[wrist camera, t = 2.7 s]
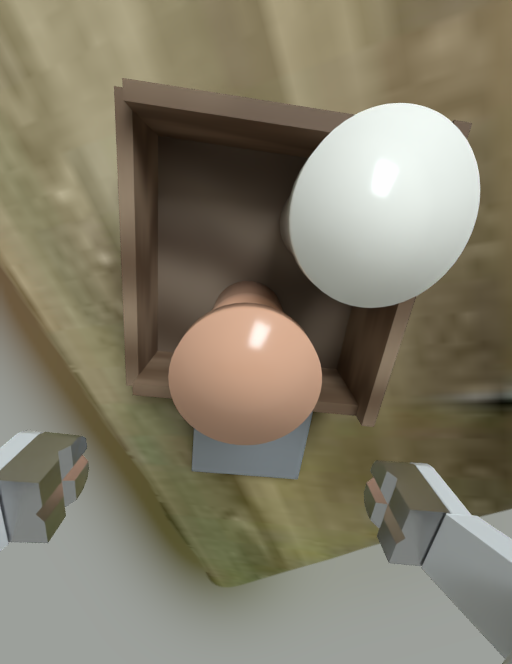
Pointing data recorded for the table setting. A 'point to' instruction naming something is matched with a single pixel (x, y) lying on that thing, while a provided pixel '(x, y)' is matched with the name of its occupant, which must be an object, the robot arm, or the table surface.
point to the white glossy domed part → (383, 205)
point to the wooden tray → (231, 235)
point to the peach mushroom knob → (245, 369)
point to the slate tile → (252, 455)
